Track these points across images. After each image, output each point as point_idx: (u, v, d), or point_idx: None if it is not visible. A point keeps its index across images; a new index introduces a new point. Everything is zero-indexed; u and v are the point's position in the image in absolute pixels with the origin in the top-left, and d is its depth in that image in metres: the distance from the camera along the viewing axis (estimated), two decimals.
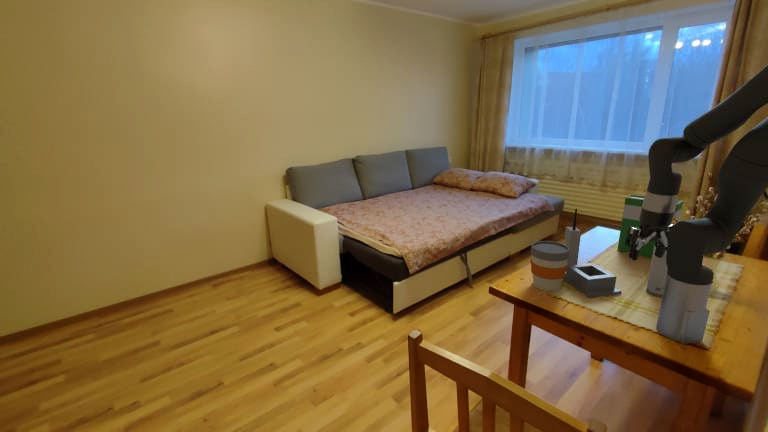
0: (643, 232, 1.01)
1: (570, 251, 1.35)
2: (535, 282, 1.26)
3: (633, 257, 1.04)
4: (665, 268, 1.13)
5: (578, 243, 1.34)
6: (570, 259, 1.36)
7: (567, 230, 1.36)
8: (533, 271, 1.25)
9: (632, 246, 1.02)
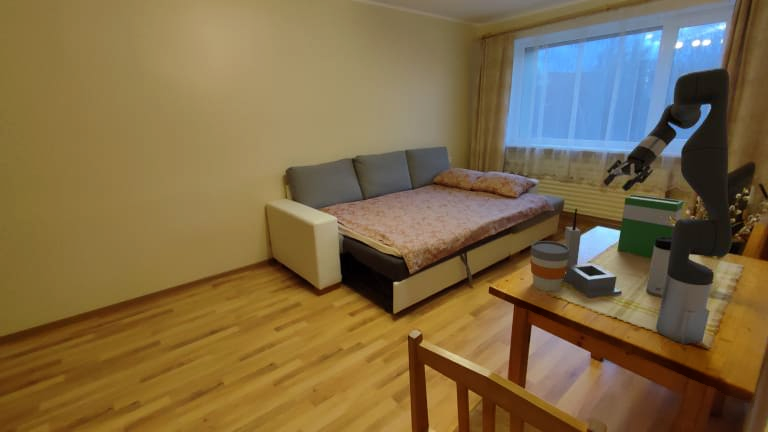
0: (622, 163, 1.29)
1: (570, 251, 1.35)
2: (535, 282, 1.26)
3: (604, 180, 1.32)
4: (665, 268, 1.13)
5: (578, 243, 1.34)
6: (570, 259, 1.36)
7: (567, 230, 1.36)
8: (533, 271, 1.25)
9: (608, 170, 1.33)
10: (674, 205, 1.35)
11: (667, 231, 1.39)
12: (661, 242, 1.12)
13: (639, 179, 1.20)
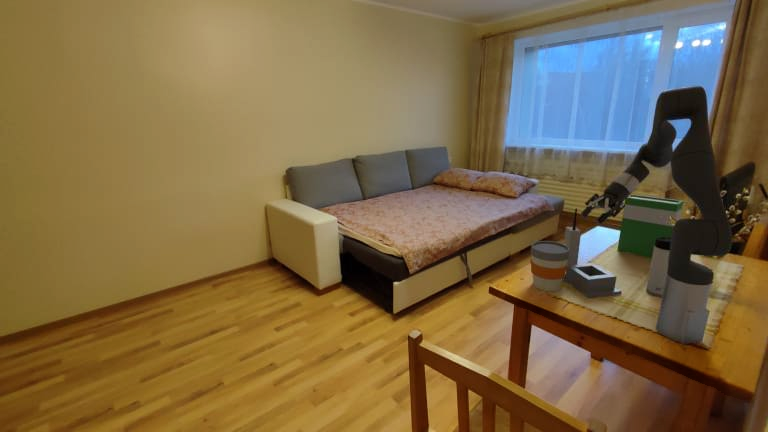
0: (599, 197, 1.37)
1: (570, 251, 1.35)
2: (535, 282, 1.26)
3: (582, 212, 1.39)
4: (665, 268, 1.13)
5: (578, 243, 1.34)
6: (570, 259, 1.36)
7: (567, 230, 1.36)
8: (533, 271, 1.25)
9: (586, 202, 1.40)
10: (674, 205, 1.35)
11: (667, 231, 1.39)
12: (661, 242, 1.12)
13: (612, 213, 1.27)
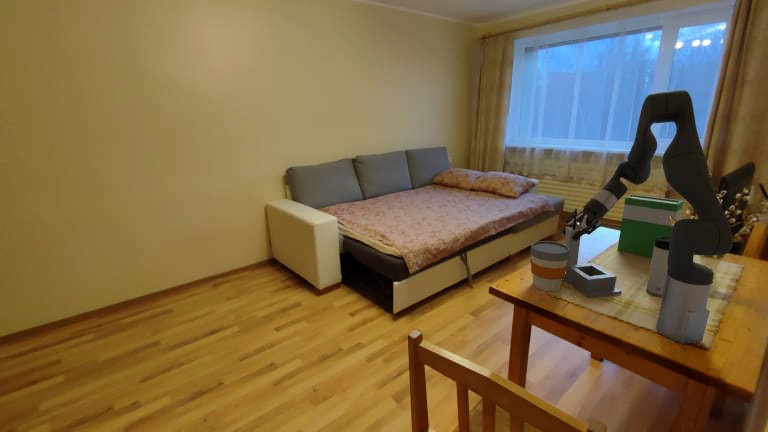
0: (578, 214, 1.38)
1: (570, 251, 1.35)
2: (535, 282, 1.26)
3: (563, 230, 1.39)
4: (665, 268, 1.13)
5: (578, 243, 1.34)
6: (570, 259, 1.36)
7: (567, 230, 1.36)
8: (533, 271, 1.25)
9: (566, 220, 1.40)
10: (674, 205, 1.35)
11: (667, 231, 1.39)
12: (661, 242, 1.12)
13: (586, 231, 1.29)
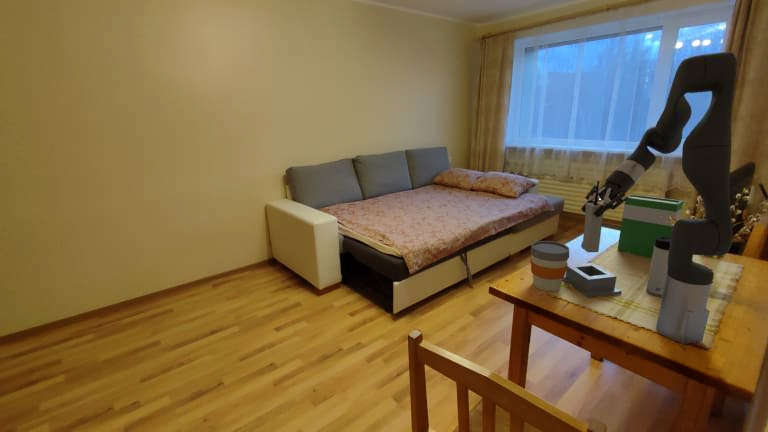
0: (600, 188, 1.23)
1: (591, 229, 1.20)
2: (535, 282, 1.26)
3: (582, 207, 1.24)
4: (665, 268, 1.13)
5: (600, 220, 1.19)
6: (591, 239, 1.21)
7: (588, 206, 1.21)
8: (533, 271, 1.25)
9: (586, 196, 1.25)
10: (674, 205, 1.35)
11: (667, 231, 1.39)
12: (661, 242, 1.12)
13: (610, 205, 1.14)
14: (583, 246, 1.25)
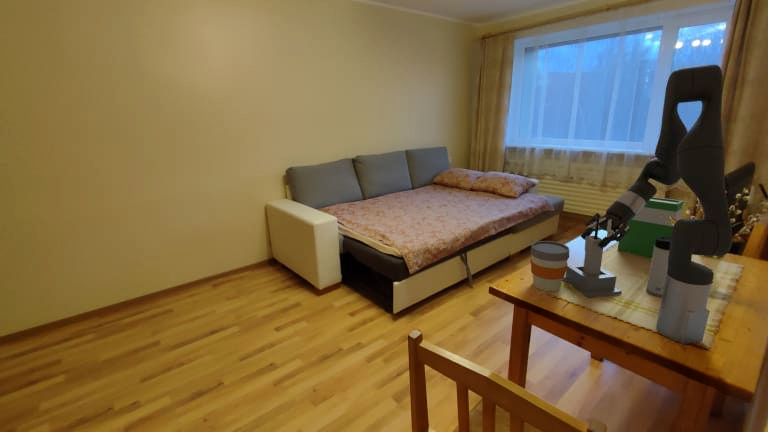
0: (600, 217, 1.23)
1: (592, 263, 1.21)
2: (535, 282, 1.26)
3: (582, 234, 1.25)
4: (665, 268, 1.13)
5: (601, 254, 1.20)
6: (592, 272, 1.22)
7: (588, 240, 1.22)
8: (533, 271, 1.25)
9: (586, 223, 1.27)
10: (674, 205, 1.35)
11: (667, 231, 1.39)
12: (661, 242, 1.12)
13: (615, 237, 1.14)
14: None
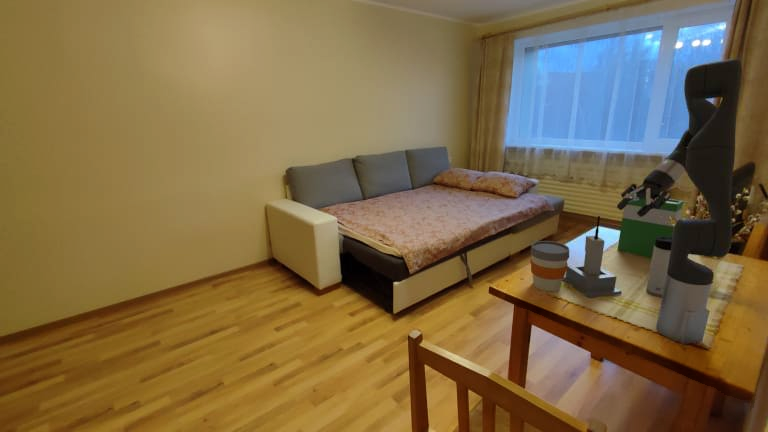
0: (637, 187, 1.22)
1: (592, 263, 1.21)
2: (535, 282, 1.26)
3: (618, 204, 1.24)
4: (665, 268, 1.13)
5: (601, 254, 1.20)
6: (592, 272, 1.22)
7: (588, 240, 1.22)
8: (533, 271, 1.25)
9: (622, 194, 1.25)
10: (674, 205, 1.35)
11: (667, 231, 1.39)
12: (661, 242, 1.12)
13: (655, 205, 1.13)
14: None
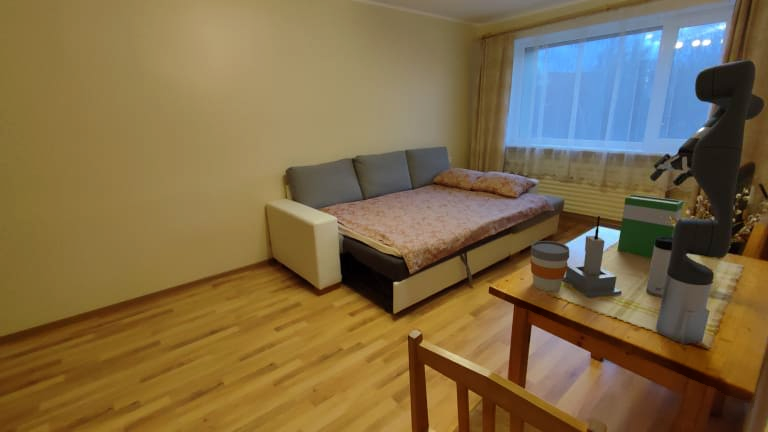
0: (672, 157, 1.19)
1: (592, 263, 1.21)
2: (535, 282, 1.26)
3: None
4: (665, 268, 1.13)
5: (601, 254, 1.20)
6: (592, 272, 1.22)
7: (588, 240, 1.22)
8: (533, 271, 1.25)
9: (655, 164, 1.22)
10: (674, 205, 1.35)
11: (667, 231, 1.39)
12: (661, 242, 1.12)
13: None
14: None
